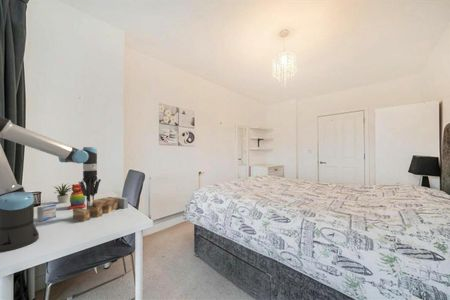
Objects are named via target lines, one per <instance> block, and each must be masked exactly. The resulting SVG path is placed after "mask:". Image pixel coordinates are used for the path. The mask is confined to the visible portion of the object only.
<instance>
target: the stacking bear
mask: <svg viewBox="0 0 450 300" xmlns="http://www.w3.org/2000/svg"><path fill="white" fill-rule="evenodd" d="M85 201H86V196H84V195H83V193H82V189H81V186H80V184H79V183H77V184H71V194H70V196H69V203H70V205H69V206H67V210H68V211H70V210H73V209H75V208H82V209H86V208H87V204H85Z"/></svg>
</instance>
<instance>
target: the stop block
mask: <svg viewBox="0 0 450 300" xmlns="http://www.w3.org/2000/svg"><path fill="white" fill-rule="evenodd" d="M113 198H119V208H121V209H126V208H129V203H128V202H129V201H128V197H123V196H114V197H113Z"/></svg>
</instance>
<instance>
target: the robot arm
mask: <svg viewBox="0 0 450 300" xmlns="http://www.w3.org/2000/svg"><path fill="white" fill-rule="evenodd" d="M0 138H2V139H5V140H7V141H11V142H14V143H16V144H20V145H22V146H25V147H28V148H31V149H34V150H37V151H40V152H44V153H46V154H49V155H51V156H56V157H58V160H59V162H60V163H74V164H82V170H83V171H82V176H83V177H82V180H80V181H78V184H80V186H81V189H82V193H83V195H84V196H85V198H86V202H87V201H88V206H92V205H93V200H95V195H96V194H98V190H99V186H100V183H101V181H102V180H101V178H98V150H97V147H95V146H83V147H82V149H80V148H79V149H78V148H76V147H73V146H70V145H69V144H66V143H63V142H61V141H59V140H56V139H53V138H50V137H47V136H45V135H43V134H41V133H38V132H35V131H33V130H30V129H27V128H25V127H22V126H19V125H17V124H14V123H13V122H12V121H11V119H8V118H6V117H3V116H2V115H0ZM34 202H35V197H34V194H33V193H32V192H29V191H26V190H25V188H24V186H23V185H21V184H18V182H17V179H16V178H15V175H14V173H13V171H12V169H11V166H10V164H9V161H8V158H7V156H6V154H5V151H4V149H3V147H2V143H0V253H1V252H7V251H13V250H16V249H20V248H23V247H26V246H29V245H31V244H34V242H36V241H38V240H39V238H40V237H39V236H40V234H39V230H38V228H37V227H36V225H35V214H34V213H35V207H34V206H35V203H34Z"/></svg>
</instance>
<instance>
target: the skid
mask: <svg viewBox="0 0 450 300" xmlns="http://www.w3.org/2000/svg"><path fill="white" fill-rule="evenodd" d="M101 207H102V214H109V213H111V212H113V211H115V210H117V209H118V208H119V202H118V203H114V204H110V205H106V206H101Z"/></svg>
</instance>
